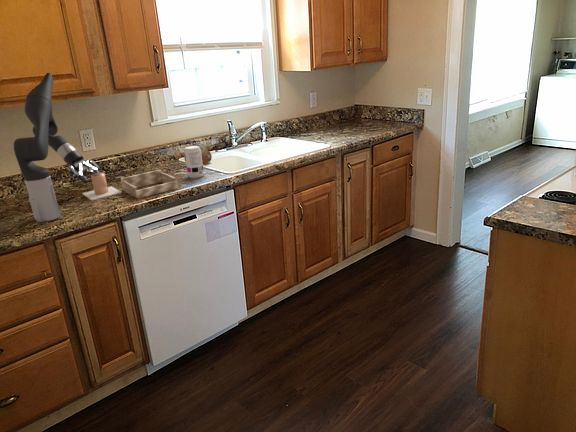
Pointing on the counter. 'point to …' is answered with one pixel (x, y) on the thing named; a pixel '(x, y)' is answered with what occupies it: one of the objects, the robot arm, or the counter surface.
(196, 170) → the supplement can
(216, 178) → the counter surface
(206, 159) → the tin
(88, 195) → the tile
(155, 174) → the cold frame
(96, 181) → the pot
